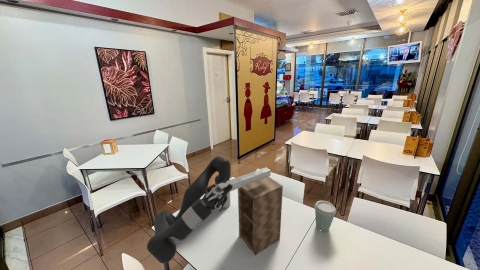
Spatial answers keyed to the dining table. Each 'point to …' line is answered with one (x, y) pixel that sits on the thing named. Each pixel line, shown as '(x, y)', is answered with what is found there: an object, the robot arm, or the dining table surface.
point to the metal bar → (245, 179)
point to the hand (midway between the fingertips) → (228, 183)
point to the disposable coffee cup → (324, 215)
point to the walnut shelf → (260, 213)
